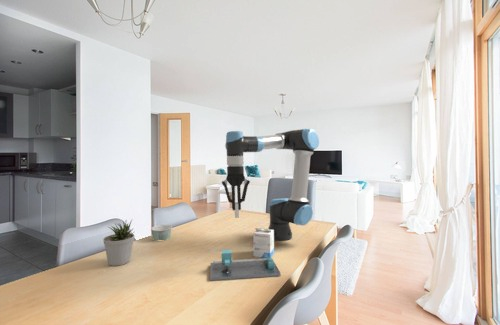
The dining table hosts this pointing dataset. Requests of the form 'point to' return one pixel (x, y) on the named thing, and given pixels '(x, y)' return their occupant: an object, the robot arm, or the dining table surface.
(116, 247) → the potted plant
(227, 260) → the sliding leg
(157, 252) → the dining table surface
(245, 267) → the bolt plate
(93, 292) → the dining table surface
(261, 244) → the ink box
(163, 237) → the food container
